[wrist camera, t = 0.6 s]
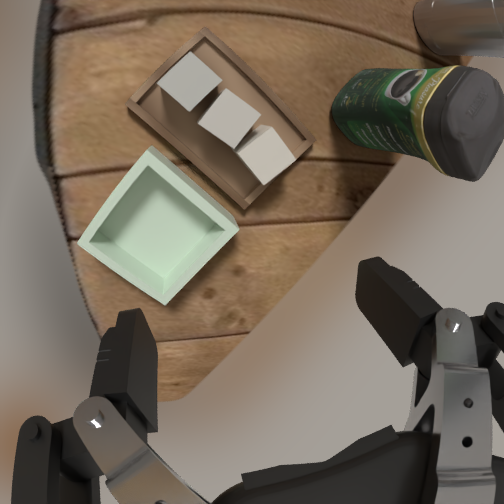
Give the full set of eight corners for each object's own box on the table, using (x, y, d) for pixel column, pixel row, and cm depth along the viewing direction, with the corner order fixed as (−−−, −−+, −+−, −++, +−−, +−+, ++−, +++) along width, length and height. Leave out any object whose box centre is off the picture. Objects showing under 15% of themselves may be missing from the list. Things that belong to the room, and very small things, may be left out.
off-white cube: (189, 59, 24) (190, 51, 20) (217, 84, 25) (222, 80, 22) (160, 87, 24) (156, 83, 21) (188, 112, 26) (189, 111, 23)
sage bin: (151, 144, 27) (146, 149, 24) (232, 215, 33) (239, 229, 30) (87, 228, 30) (76, 243, 26) (165, 285, 35) (165, 305, 32)
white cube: (261, 124, 28) (272, 126, 25) (283, 153, 30) (296, 159, 27) (230, 148, 29) (237, 153, 25) (254, 176, 31) (263, 185, 27)
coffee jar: (359, 155, 33) (480, 208, 17) (318, 109, 29) (445, 127, 13) (402, 106, 31) (524, 131, 15) (366, 59, 27) (495, 52, 11)
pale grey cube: (220, 91, 26) (226, 88, 22) (251, 114, 28) (261, 114, 24) (196, 122, 27) (197, 123, 23) (227, 144, 29) (234, 149, 25)
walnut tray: (204, 29, 23) (205, 26, 22) (312, 138, 31) (316, 140, 30) (126, 104, 25) (124, 104, 24) (242, 206, 33) (244, 209, 32)
